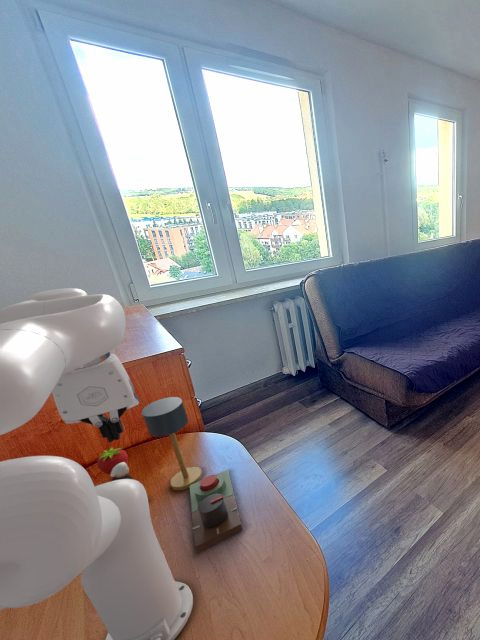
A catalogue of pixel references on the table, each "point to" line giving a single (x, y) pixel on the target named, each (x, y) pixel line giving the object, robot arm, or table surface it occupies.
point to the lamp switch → (209, 483)
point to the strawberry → (111, 459)
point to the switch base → (222, 488)
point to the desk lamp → (171, 435)
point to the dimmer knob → (213, 511)
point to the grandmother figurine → (120, 472)
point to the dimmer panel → (219, 533)
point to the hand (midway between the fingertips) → (115, 437)
